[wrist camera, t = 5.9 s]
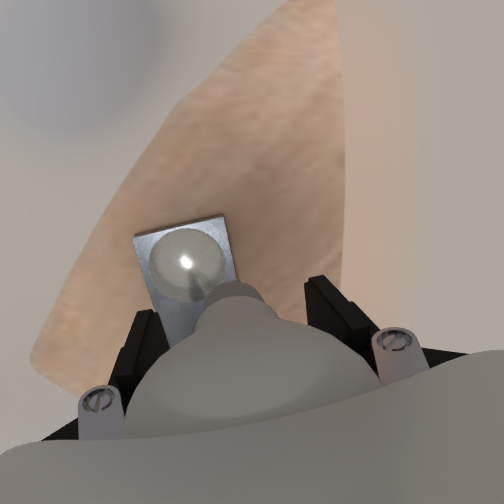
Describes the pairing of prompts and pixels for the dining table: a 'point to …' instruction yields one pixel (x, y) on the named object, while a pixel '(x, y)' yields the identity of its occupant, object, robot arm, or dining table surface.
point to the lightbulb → (243, 370)
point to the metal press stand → (184, 270)
